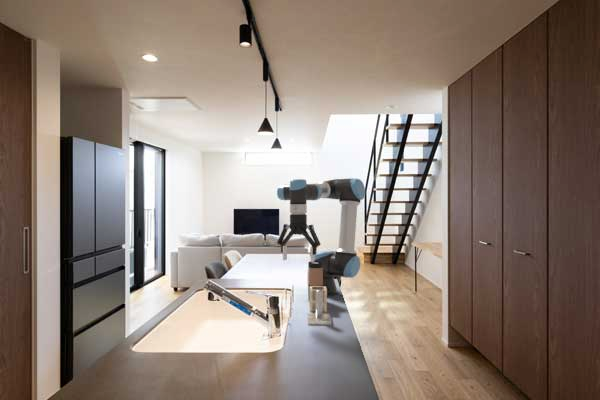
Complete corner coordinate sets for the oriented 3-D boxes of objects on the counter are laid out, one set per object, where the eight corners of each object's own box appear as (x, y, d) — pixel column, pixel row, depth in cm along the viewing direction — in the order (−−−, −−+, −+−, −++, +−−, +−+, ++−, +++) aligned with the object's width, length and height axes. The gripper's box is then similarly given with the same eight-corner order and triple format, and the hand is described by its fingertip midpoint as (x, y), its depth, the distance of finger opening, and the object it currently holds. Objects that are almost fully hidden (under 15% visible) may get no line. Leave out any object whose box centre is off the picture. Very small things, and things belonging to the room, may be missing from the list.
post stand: (307, 316, 163) (307, 287, 163) (329, 317, 163) (330, 287, 163) (307, 324, 153) (307, 293, 153) (331, 324, 153) (331, 293, 153)
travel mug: (323, 299, 193) (323, 261, 193) (322, 303, 185) (322, 263, 186) (308, 298, 194) (308, 260, 194) (307, 302, 186) (307, 263, 186)
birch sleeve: (309, 306, 179) (309, 286, 179) (325, 306, 179) (325, 286, 179) (309, 311, 171) (309, 290, 171) (326, 311, 171) (326, 290, 171)
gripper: (269, 213, 166) (270, 260, 166) (321, 214, 156) (321, 264, 156) (277, 212, 173) (277, 257, 173) (327, 213, 163) (327, 261, 163)
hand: (298, 261), depth 165 cm, fingers open, 13 cm apart
